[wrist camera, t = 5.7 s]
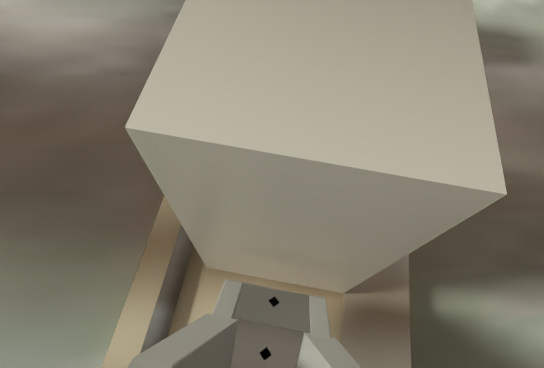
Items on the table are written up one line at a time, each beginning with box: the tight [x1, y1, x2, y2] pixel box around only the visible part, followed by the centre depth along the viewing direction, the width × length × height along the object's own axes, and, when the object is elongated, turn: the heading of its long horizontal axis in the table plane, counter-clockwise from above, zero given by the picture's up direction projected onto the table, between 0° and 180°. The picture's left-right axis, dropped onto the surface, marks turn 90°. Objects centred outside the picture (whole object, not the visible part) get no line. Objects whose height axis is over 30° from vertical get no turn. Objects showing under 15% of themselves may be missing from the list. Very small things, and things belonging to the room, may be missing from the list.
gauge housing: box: [125, 0, 507, 293], centre depth 11 cm, size 7×9×10 cm
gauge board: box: [102, 196, 412, 368], centre depth 17 cm, size 26×12×2 cm, turn 170°
